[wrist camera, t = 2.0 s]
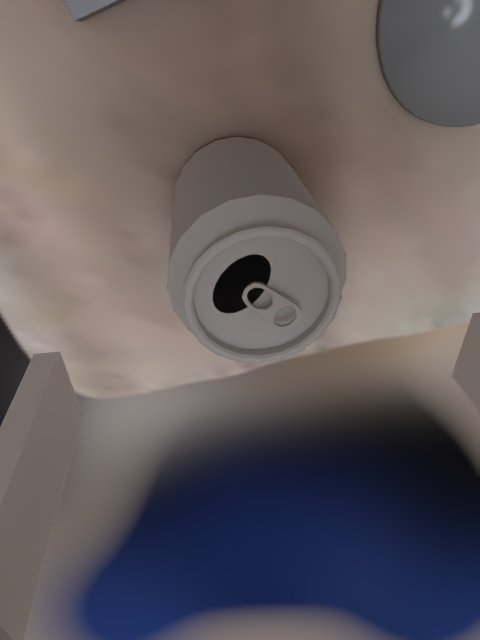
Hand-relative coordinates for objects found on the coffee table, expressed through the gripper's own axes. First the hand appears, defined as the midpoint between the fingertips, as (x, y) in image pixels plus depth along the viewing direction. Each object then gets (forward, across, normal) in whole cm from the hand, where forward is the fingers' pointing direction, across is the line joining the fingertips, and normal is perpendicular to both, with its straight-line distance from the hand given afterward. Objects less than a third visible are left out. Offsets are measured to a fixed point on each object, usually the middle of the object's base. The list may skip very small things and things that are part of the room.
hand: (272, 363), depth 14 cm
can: (+15, 0, 0) cm, 15 cm away
